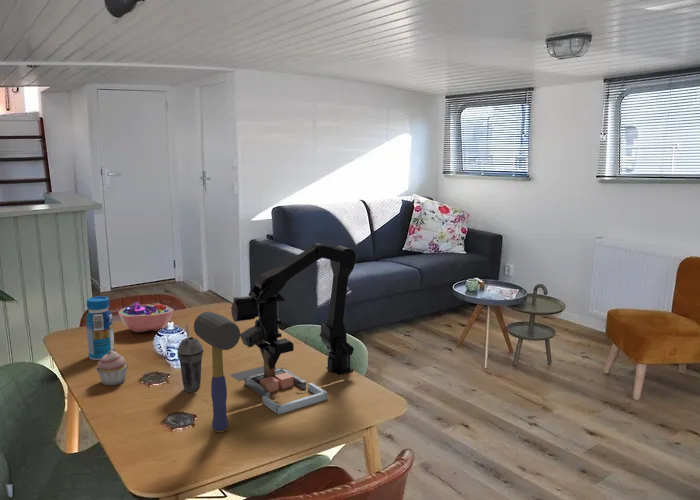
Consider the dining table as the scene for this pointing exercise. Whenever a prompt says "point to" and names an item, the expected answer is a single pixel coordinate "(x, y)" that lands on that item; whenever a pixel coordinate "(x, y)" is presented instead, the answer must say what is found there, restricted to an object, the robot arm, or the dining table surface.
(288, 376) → the salmon pink cube
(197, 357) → the beverage cup
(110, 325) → the beverage bottle
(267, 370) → the t-shaped scraper
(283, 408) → the tray
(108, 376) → the cupcake
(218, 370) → the rubber mallet
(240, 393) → the dining table surface
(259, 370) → the mat
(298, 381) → the slot channel
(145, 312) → the cell model
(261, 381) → the dusty rose cube
